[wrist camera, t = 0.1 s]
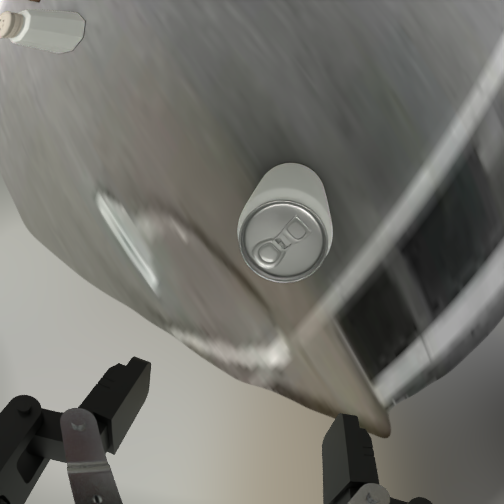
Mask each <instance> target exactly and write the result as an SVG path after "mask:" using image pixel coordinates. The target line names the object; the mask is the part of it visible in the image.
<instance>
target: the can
mask: <svg viewBox="0 0 504 504" xmlns="http://www.w3.org/2000/svg"><path fill="white" fill-rule="evenodd" d="M237 233H238V241H239V248H240V252H241V255H242V257H243V259H244V261H245V262H246V264H247V265H248V266H249V268H250V269H251V270H252V271H254V272H255V273H256V274H257V275H259V276H261V277H262V278H264V279H267V280H270V281H273V282H278V283H292V282H297V281H300V280H303V279H305V278H307V277H309V276H310V275H312V274H313V273H314V272H315V271H316V270H317V269H318V268H319V267H320V266H321V264H322V263H323V261H324V259H325V257H326V255H327V254H328V252H329V250H330V247H331V243H332V238H333V227H332V220H331V215H330V210H329V206H328V201H327V197H326V193H325V189H324V186H323V183H322V181H321V180H320V178H319V177H318V175H317V174H316V173H315V172H314V171H313V170H311V169H310V168H308V167H306V166H304V165H301V164H298V163H284V164H280V165H277V166H275V167H274V168H272V169H271V170H269V171H268V172H267V173H266V174H265V175H264V176H263V178H262V179H261V181H260V182H259V184H258V185H257V187H256V189H255V190H254V192H253V193H252V195H251V197H250V198H249V200H248V202H247V203H246V205H245V207H244V209H243V211H242V213H241V215H240V218H239V222H238V229H237Z"/></svg>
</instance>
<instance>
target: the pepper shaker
mask: <svg viewBox="0 0 504 504" xmlns="http://www.w3.org/2000/svg"><path fill="white" fill-rule="evenodd" d="M84 27H85V21H84V19H83V18H82V17H81V16H80V15H79V14H78V13H77V12H67V11H54V10H37V9H27V10H24V11H21V12H19V13H11V12H9V11H6V12H4V13H2V14H1V15H0V38H10V40H11V42H12V43H14V44H18V45H23V46H28V47H32V48H37V49H41V50H46V51H50V52H54V53H58V54H60V53H65V52H70V51H72V50H73V49H74V48H75V47H76V45H77V44H78V43H79V42H80V41H81V39H82V38H83V34H84Z"/></svg>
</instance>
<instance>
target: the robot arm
mask: <svg viewBox="0 0 504 504" xmlns="http://www.w3.org/2000/svg"><path fill="white" fill-rule="evenodd" d="M150 371H151V363H150V362H148V361H145V360H142V359H139V358H137V357H133V358H132V359H131V360H130V361H129V363H128V364H127V365H126V366H125V365H122V364H120V363H118V364H117V365H115V366H113V367H111V368H109V369H108V370H107V372H106V373H105V374H104V376H103V378H101V379H100V381H99V382H98V384H96V386H95V387H94V388H93V389H92V391H91V392H90V394H89V395H88V396H87V397H86V398H85V400H84V401H83V402H82V404H81V405H80V406H79V407H78V408H72V409H69V410H67V411H65V412H64V413H60V412H55V411H50V410H46V409H42V408H41V405H40V403H39V402H38V401H37V400H36V399H35V398H33V397H31V396H28V395H20V396H17V397H15V398H13V399H12V400H11V401H10V402H9V404H8V405H7V406H6V407H5V408H4V409H3V411H2V412H1V413H0V504H24V503H25V502H26V500H27V498H28V496H29V494H30V493H31V491H32V489H33V487H34V486H35V484H36V482H37V481H38V479H39V477H40V475H41V474H42V472H43V470H44V469H45V467H46V465H47V464H48V462H49V460H50V459H52V460H56V461H60V462H65V463H67V466H68V467H67V471H68V476H69V480H70V485H71V489H72V493H73V497H74V501H75V504H123V503H122V500H121V498H120V495H119V492H118V489H117V486H116V483H115V480H114V477H113V474H112V471H111V468H110V465H109V464H108V462H107V459H106V456H105V454H106V452H109V453H112V454H115V453H116V451H117V449H118V448H119V445H120V444H121V442H122V440H123V439H124V437H125V435H126V433H127V431H128V430H129V428H130V426H131V424H132V423H133V421H134V419H135V417H136V416H137V414H138V412H139V410H140V409H141V407H142V405H143V404H144V402H145V400H146V397H147V394H148V391H149V384H150ZM372 448H373V446H372V441H371V437H370V436H369V434H368V433H367V431H366V430H365V429H363V428H360V427H359V421H358V417H357V416H354V415H347V414H341V413H340V414H338V416H337V417H336V419H335V421H334V422H333V424H332V425H331V427H330V429H329V430H328V432H327V433H326V435H325V437H324V440H323V444H322V459H323V497H324V498H323V499H324V500H323V501H324V504H432V503H431V502H430V501H429V500H427V499H425V498H422V497H417V498H414V499H412V500H411V501H410V502H408V503H407V502H404V501H400V500H397V499H393V498H391V497H390V495H389V493H388V491H387V490H386V489H385V488H384V487H383V486H381V485H379V480H378V474H377V469H376V463H375V457H374V451H373V449H372Z"/></svg>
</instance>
